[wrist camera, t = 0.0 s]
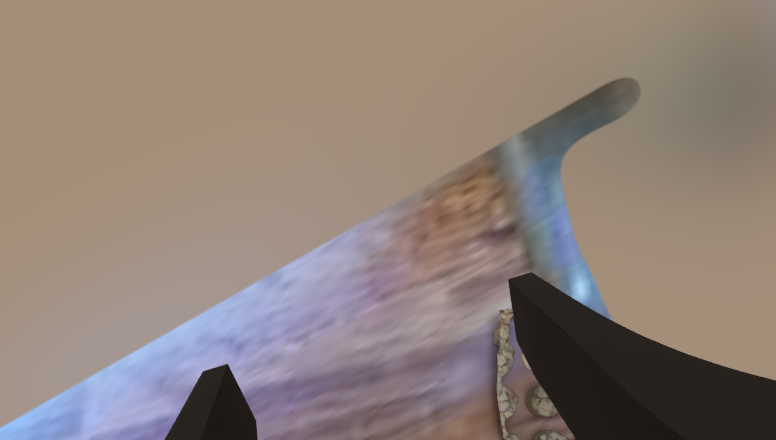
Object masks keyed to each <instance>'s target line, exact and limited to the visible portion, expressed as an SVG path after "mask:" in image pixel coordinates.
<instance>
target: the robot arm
mask: <svg viewBox="0 0 776 440" xmlns="http://www.w3.org/2000/svg"><path fill="white" fill-rule="evenodd" d="M508 281H509V288H510V296H511V303H512V310H513V317H514V324H515V332H516V339H517V342H518V344H519V346H520V348H521V350H522V352H523V354H524V356H525V358H526V360H527V362H528V364H529V366H530V368H531V370H532V372H533V374H534V376H535V377H536V379H537V380H538V382H539V383H540V385H541V387H542V388H543V390H544V391H545V393H546V394H547V396H548V397H549V399H550V400H551V402H552V403H553V405H554V406H555V408H556V409H557V411H558V412H559V414H560V415H561V417H562V418H563V420H564V421H565V423H566V424H567V426H568V427H569V429H570V430H571V432H572V433H573V435H574V436H575V438H576V439H577V440H776V381H775V380H771V379H767V378H764V377H759V376H756V375H752V374H748V373H745V372H741V371H738V370H734V369H731V368H727V367H724V366H721V365H718V364H714V363H712V362H709V361H706V360H703V359H700V358H697V357H693V356H691V355H688V354H686V353H683V352H680V351H677V350H675V349H672V348H670V347H668V346H665V345H662V344H660V343H658V342H656V341H653V340H651V339H648V338H646V337H644V336H642V335H639V334H637V333H635V332H633V331H631V330H629V329H627V328H625V327H623V326H621V325H619V324H617V323H615V322H613V321H611V320H609V319H608V318H606V317H604V316H602V315H600V314H599V313H597V312H595V311H593V310H592V309H590V308H588V307H586V306H585V305H583V304H581V303H580V302H578V301H576V300H575V299H573V298H571V297H570V296H568V295H567V294H565V293H563V292H562V291H560V290H559V289H557V288H555V287H554V286H552V285H551V284H549V283H548V282H546V281H544V280H543V279H541V278H540V277H538V276H537V275H535V274H533V273H532V272H531V273H527V274H524V275H521V276H518V277H514V278H511V279H508ZM165 440H257V427H256V420H255V418H254V416H253V414H252V412H251V410H250V408H249V406H248V404H247V402H246V400H245V398H244V396H243V394H242V392H241V390H240V388H239V386H238V384H237V382H236V380H235V378H234V376H233V374H232V372H231V370H230V368H229V366H228V364H226V365H223V366H219V367H216V368H213V369H209V370H206V371H203V373H202V374H201V376H200V378H199V379H198V381H197V383H196V385H195V386H194V388H193V390H192V392H191V394H190V396H189V397H188V399H187V401H186V403H185V405H184V406H183V408H182V410H181V412H180V414H179V415H178V417H177V419H176V421H175V423H174V424H173V426H172V428H171V429H170V431H169V433H168V435H167V436H166V438H165Z"/></svg>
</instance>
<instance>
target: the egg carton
mask: <svg viewBox="0 0 776 440" xmlns="http://www.w3.org/2000/svg"><path fill="white" fill-rule="evenodd" d="M512 317H513V310H500V318H499V320H500V328H498V329H496V330H494V334H493V338H494V344H495V345H498V346H499V351H498V355H497V358H498V373H497V399H498V405H499V411H500V417H501V421H500V424H501V429H502V432H503V437H504V439H505V440H519V438H518V437H517V436H516V435H514V434H512V433H509V432H507V431H506V428H505V420H506V419H508V417H510V416H511V415H513V414H514V412H515V410H516V408H517V405H518V402H519V398H518V396H517V395H516V394H515V393H514V392H513V391H512V390H511V389H510V388H509V387H507V386H503V385H502V377H503V376H504V375H505V374H506V373H507V372H509V371H510V369H511V365H512V364H513V362H514V357H513V355H514V353H515V350H514V348H513V347H512V345H511V344H510V343H509V327H510V320H511V318H512ZM522 360H523V364H524V365H525V366H526V368H528V369H529V370H531V368H530V366H529V364H528V362H527V360H526V358H525V356H524V354H523V352H522ZM531 371H532V370H531ZM526 403H527V406H528V408H529V410H530V411H531V412H532V413H533V414H535V415H537V416H540V417H546V416H554V415H555V414H557V413H558V411H557V409H556V408H555V406H554V405H553V403H552V402H551V400H550V399H549V397H548V396H547V394H546V393H545V391H544V390H543V388H542V387H541V385H539V386H536V387H533V388H532V389H531V390H530V391H529V392H528V394H527V397H526ZM532 440H568V438H567V437H565V436H562V435H560V434H558V433H557V432H555V431H540V432H538V433H537V434H535V435H534V437H533V438H532ZM575 440H577V439H575Z"/></svg>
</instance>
